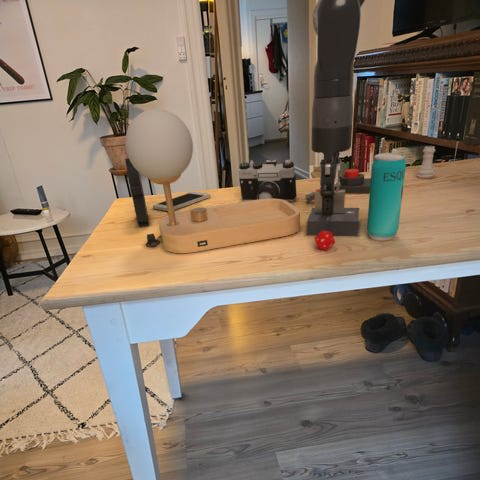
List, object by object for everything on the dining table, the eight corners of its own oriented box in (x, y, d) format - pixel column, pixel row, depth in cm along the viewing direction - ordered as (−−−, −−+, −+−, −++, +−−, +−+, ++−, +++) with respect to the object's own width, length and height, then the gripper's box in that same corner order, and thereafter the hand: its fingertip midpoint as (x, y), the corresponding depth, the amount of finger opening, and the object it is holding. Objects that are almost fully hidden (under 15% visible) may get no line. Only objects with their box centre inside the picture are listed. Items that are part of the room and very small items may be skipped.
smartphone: (210, 196, 116) (210, 193, 116) (169, 211, 107) (169, 208, 106) (193, 194, 121) (193, 191, 120) (152, 208, 111) (152, 205, 111)
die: (326, 237, 79) (318, 224, 76) (340, 240, 77) (333, 227, 74) (316, 252, 79) (308, 239, 76) (330, 256, 76) (323, 243, 73)
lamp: (280, 211, 99) (276, 93, 86) (308, 233, 85) (308, 95, 72) (143, 233, 94) (117, 110, 80) (148, 261, 79) (117, 116, 66)
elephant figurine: (306, 197, 109) (339, 183, 106) (313, 217, 107) (346, 203, 105) (298, 180, 99) (334, 164, 97) (305, 201, 98) (342, 185, 95)
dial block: (358, 219, 90) (359, 204, 88) (357, 235, 81) (358, 220, 80) (307, 218, 93) (307, 205, 91) (301, 235, 84) (301, 220, 83)
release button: (358, 175, 111) (359, 168, 110) (358, 178, 108) (358, 171, 107) (345, 175, 112) (345, 169, 111) (344, 179, 109) (344, 172, 108)
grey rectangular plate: (344, 211, 86) (345, 188, 83) (343, 213, 84) (344, 190, 82) (315, 211, 87) (315, 188, 85) (314, 213, 86) (314, 190, 84)
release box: (377, 184, 114) (378, 171, 112) (378, 192, 106) (379, 179, 104) (339, 185, 116) (340, 172, 114) (337, 193, 109) (338, 180, 107)
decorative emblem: (149, 227, 97) (135, 161, 89) (139, 229, 97) (124, 162, 89) (148, 214, 107) (135, 153, 99) (138, 215, 107) (125, 154, 99)
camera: (235, 212, 106) (229, 175, 99) (245, 193, 114) (240, 157, 107) (290, 213, 102) (288, 174, 95) (298, 193, 109) (296, 156, 103)
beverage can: (402, 240, 77) (412, 156, 70) (372, 243, 77) (379, 160, 69) (390, 230, 82) (398, 151, 75) (362, 233, 82) (367, 154, 74)
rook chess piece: (436, 175, 116) (441, 145, 112) (429, 179, 114) (434, 148, 109) (420, 174, 119) (424, 145, 115) (414, 177, 116) (418, 147, 112)
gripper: (351, 127, 70) (345, 220, 79) (353, 117, 82) (348, 199, 90) (307, 129, 72) (306, 220, 81) (315, 120, 84) (314, 200, 92)
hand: (329, 209), depth 86 cm, fingers open, 7 cm apart
